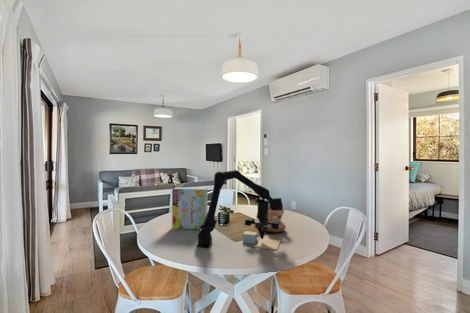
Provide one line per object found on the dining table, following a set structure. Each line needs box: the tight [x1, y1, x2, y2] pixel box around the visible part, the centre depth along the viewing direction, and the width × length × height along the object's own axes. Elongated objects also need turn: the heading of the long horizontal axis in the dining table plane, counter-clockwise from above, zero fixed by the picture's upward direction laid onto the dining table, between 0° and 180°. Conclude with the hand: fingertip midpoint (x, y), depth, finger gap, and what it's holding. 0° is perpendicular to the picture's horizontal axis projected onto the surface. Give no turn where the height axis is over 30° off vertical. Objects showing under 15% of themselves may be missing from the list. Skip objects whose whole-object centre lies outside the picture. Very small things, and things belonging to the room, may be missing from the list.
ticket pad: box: [253, 237, 282, 251], centre depth 132 cm, size 12×13×1 cm
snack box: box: [171, 186, 208, 230], centre depth 158 cm, size 22×9×26 cm, turn 84°
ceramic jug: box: [266, 206, 287, 234], centre depth 155 cm, size 18×14×14 cm
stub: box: [242, 230, 258, 245], centre depth 135 cm, size 7×5×5 cm
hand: (262, 238), depth 133 cm, fingers closed
